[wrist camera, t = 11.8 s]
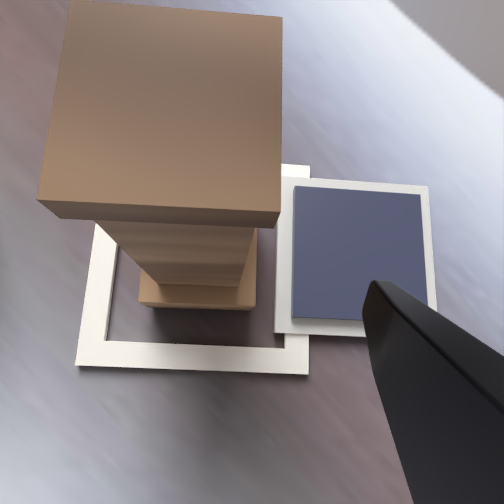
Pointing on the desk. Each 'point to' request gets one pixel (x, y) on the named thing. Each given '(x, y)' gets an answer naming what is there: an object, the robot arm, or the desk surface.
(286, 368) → the marked square
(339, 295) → the ink pad
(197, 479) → the desk surface
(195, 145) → the stamp
